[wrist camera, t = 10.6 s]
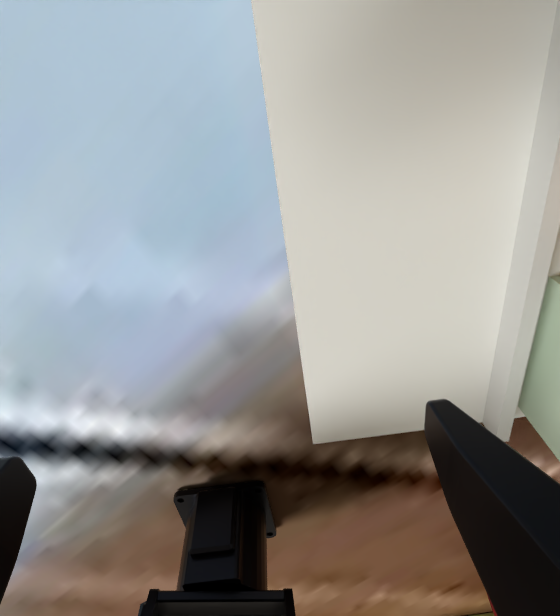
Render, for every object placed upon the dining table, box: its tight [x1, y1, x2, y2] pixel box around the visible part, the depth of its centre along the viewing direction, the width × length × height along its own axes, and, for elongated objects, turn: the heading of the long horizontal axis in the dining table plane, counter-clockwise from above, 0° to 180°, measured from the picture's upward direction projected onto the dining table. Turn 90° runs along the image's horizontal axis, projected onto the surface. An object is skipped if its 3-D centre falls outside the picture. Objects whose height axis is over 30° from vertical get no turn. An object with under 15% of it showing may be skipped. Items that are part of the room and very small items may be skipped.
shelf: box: [251, 0, 560, 444], centre depth 19 cm, size 24×20×3 cm
